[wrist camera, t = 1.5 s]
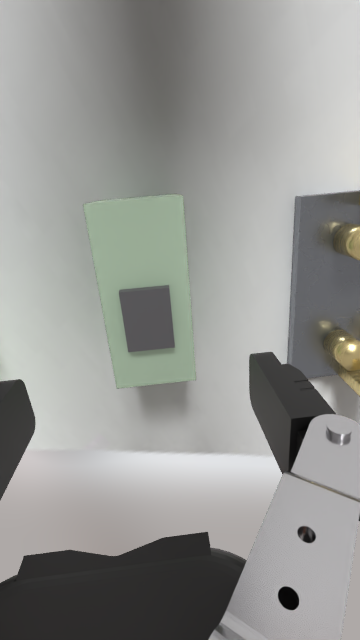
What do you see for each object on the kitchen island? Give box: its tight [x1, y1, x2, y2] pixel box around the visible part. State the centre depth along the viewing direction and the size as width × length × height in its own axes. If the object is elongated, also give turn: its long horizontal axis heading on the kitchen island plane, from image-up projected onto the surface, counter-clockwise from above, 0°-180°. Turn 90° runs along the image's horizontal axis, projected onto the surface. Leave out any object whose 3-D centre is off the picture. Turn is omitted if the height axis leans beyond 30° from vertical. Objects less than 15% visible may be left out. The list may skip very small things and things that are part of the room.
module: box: [83, 194, 196, 389], centre depth 23 cm, size 12×6×8 cm, turn 5°
